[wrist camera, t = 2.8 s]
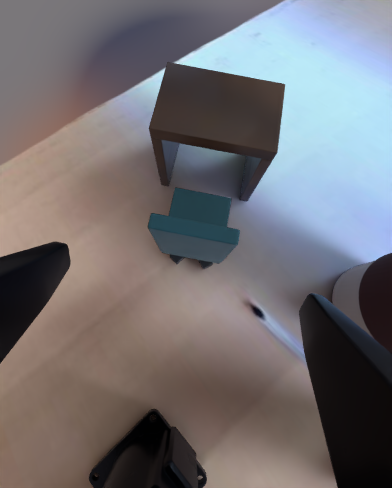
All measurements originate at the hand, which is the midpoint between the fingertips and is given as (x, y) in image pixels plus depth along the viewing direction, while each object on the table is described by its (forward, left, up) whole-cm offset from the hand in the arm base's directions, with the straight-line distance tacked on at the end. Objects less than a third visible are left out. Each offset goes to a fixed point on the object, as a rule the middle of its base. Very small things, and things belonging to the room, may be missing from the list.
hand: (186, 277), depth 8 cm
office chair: (+4, +3, -13) cm, 14 cm away
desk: (+10, +8, -13) cm, 18 cm away
